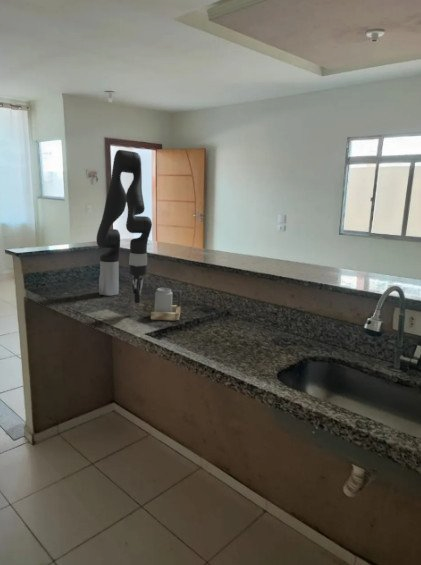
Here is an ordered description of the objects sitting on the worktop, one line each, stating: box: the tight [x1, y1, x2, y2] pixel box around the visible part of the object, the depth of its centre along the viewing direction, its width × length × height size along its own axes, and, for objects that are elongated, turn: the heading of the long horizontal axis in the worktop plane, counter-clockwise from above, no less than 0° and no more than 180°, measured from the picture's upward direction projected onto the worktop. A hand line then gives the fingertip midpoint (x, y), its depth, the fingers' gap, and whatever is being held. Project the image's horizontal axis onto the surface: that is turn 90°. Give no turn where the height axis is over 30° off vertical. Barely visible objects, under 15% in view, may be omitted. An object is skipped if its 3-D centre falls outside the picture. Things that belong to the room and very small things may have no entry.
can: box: [154, 287, 174, 312], centre depth 175 cm, size 8×8×12 cm
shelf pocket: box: [150, 289, 182, 322], centre depth 176 cm, size 12×13×10 cm
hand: (137, 302), depth 176 cm, fingers closed
